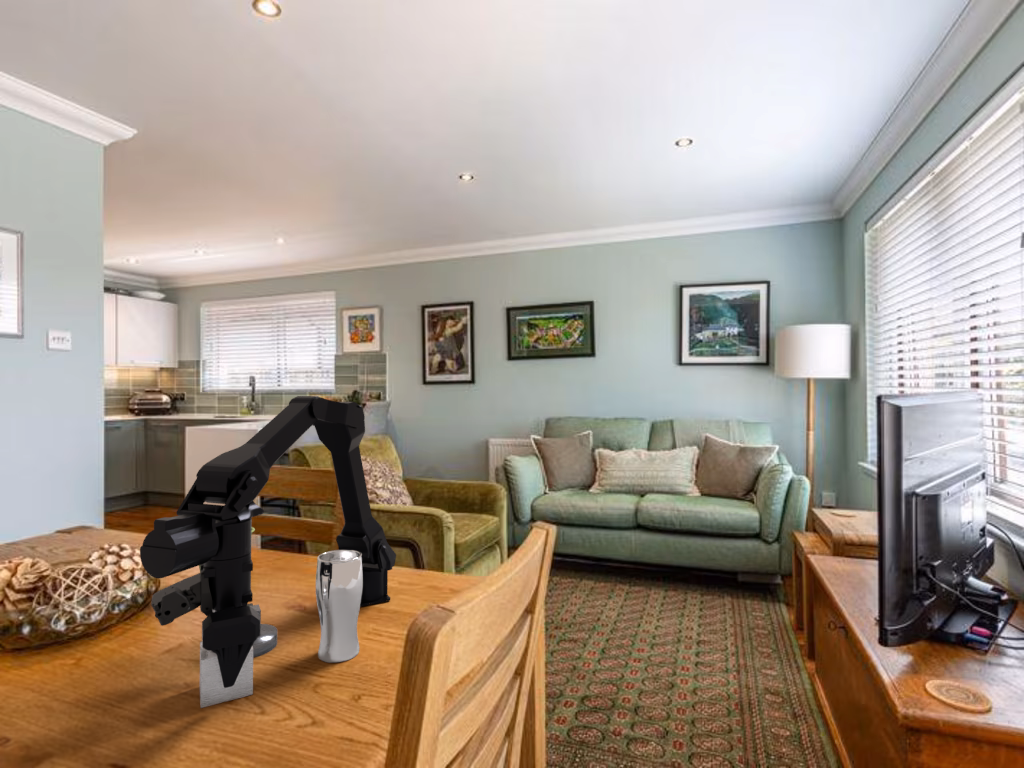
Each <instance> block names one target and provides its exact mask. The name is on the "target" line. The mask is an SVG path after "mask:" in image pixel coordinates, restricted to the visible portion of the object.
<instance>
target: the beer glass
mask: <svg viewBox="0 0 1024 768" xmlns="http://www.w3.org/2000/svg"><path fill="white" fill-rule="evenodd" d="M316 560H317V562H316V571H315V597H316V605H317V611H318V617H319V622H320V623H319V624H320V640H319V641H320V642H319V646H318V647H319V648H318V653H317V658H318V659H319V660H321V661H322V662H324V663H328V664H329V663H331V664H333V663H334V664H335V663H343V662H346V661H349V660H352V659H353V658H355V657H356V656H357V655H358V654H359V652H360V642H359V637H358V619H359V614H360V608H361V607H360V604H361V598H362V590H363V568H362V553H361V552H359V551H356V550H339V549H335V550H334V549H333V550H329V551H326V552H323V553H320V554H319V555H318V556H317V559H316Z"/></svg>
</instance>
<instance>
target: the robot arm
mask: <svg viewBox="0 0 1024 768" xmlns="http://www.w3.org/2000/svg"><path fill="white" fill-rule="evenodd" d="M312 426H313V427H314V428H315V431H316V434H317V438H318V440H319V441H320V442H321V443H322V444H323V446H325V448H326V449H327V450H328V451H329V452H330V454H331V455H330V456H331V459H332V465H333V470H334V474H335V480H336V484H337V489H338V494H339V499H340V505H341V510H342V514H343V521H344V525H343V526H342V529H341V532H340V533H339V534H338V535H337V536H336V539H335V541H336V544H337V548H338V549H337V550H356V551H359V552H361V553H362V568H363V590H362V598H361V604H360V608H361V607H365V606H369V605H374V604H375V605H376V604H380V603H383V602H389V601H391V596H390V595H389V594H388V589H389V588H388V585H389V584H388V581H389V579H388V577H389V575H388V574H389V571H391V570H393V567H395V563H396V561H397V560H396V558H397V554H396V552H395V551H394V550H393V548H392V546H391V545H390V544H389V543H388V542H387V537H386V534H385V531H384V528H383V526H382V525H381V524H380V523H379V522H378V521H377V520H376V519H375V517H374V516H373V515H372V514H373V513H372V510H371V504H370V499H369V493H368V488H367V483H366V477H365V473H364V472H365V471H364V466H363V461H362V460H363V459H362V455H361V449H360V444H361V443H362V439H363V437H364V435H365V433H366V422H365V412H364V409H363V407H362V406H361V405H360V404H359V403H357V402H355V401H335V400H329V399H326V398H323V397H321V396H319V395H297V396H295V397H292V398H291V399H290V401H289V402H288V405H287V406H286V407H284V408H283V409H282V410H281V411H280V412H279V413H278V414H277V415H275V417H273V418H272V419H271V420H270V421H268V423H267V424H265V425H264V426H263V427H262V428H261V429H260V430H259V431H258V432H257V433H255V434H254V435H253V436H252V437H251V438H249V440H247V441H246V442H245V443H244V444H242V445H241V446H239V447H236V448H233V449H231V450H228V451H225V452H222V453H220V454H219V455H217V456H216V457H214V458H212V459H211V460H209V461H208V462H206V463H205V464H203V465H202V466H201V468H200V469H198V471H197V473H196V479H195V480H194V482H193V483H192V485H191V487H190V489H189V490H188V492H187V494H186V496H185V497H184V499H183V500H182V502H181V503H180V505H179V507H178V509H177V511H176V515H175V516H172V517H161V518H156V519H154V521H153V530H151V531H149V532H148V533H147V534H146V535H145V537H144V539H143V542H142V545H141V546H140V547H139V557H140V562H141V565H142V567H143V569H144V570H145V571H146V573H147V574H148V575H149V576H150V577H152V578H154V579H164V578H166V577H169V576H172V575H175V574H178V573H181V572H184V571H187V570H190V569H192V568H196V567H199V565H200V569H199V572H198V573H197V574H194V575H191V576H189V577H186V578H183V579H182V580H180V581H177V582H175V583H173V584H170V585H169V586H167V587H164V588H162V589H160V590H158V591H156V592H155V593H153V594H152V596H151V603H150V605H151V607H152V609H153V611H154V617H155V618H156V619H158V622H159V625H160V626H162V627H163V626H166V625H169V624H171V623H173V622H174V621H175V620H176V619H178V618H180V617H182V616H184V615H187V614H188V613H190V612H193V611H194V610H196V609H197V608H199V607H200V608H199V610H200V613H202V614H203V615H205V616H206V617H205V618H204V619H203V620H202V622H201V642H202V645H203V648H204V649H206V650H208V651H212V652H214V653H216V654H217V658H218V662H219V667H220V672H221V676H222V681H223V685H224V688H227V687H231V686H233V685H234V684H235V681H236V679H237V677H238V675H239V673H240V670H241V668H242V666H243V664H244V662H245V660H246V657H247V655H248V653H249V651H250V649H251V647H252V645H253V643H254V641H255V640H257V637H258V636H260V619H259V616H258V613H257V611H256V610H254V609H253V608H252V607H250V606H247V604H249V603H251V602H253V595H254V594H253V591H252V572H253V570H254V563H253V560H252V535H251V528H252V527H253V526H252V522H253V521H252V518H253V517H257V516H260V515H263V514H264V512H265V510H264V509H263V508H262V507H261V506H259V505H257V504H256V503H255V500H256V498H257V497H258V495H259V494H260V492H261V491H262V490H263V488H264V487H265V486H266V484H267V483H268V481H269V480H270V479H269V478H270V473H271V472H270V471H271V468H272V467H273V465H274V464H275V463H276V462H277V461H278V460H279V459H280V458H281V457H282V456H283V455H284V454H285V453H286V452H287V451H288V450H289V449H290V448H291V447H292V446H293V445H294V444H295V443H296V442H297V441H298V440H299V439H300V438H301V437H302V436H303V435H304V434H305V433H306V432H307V431H309V429H310V428H311V427H312ZM206 503H207V504H206Z"/></svg>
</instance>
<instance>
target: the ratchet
mask: <svg viewBox="0 0 1024 768" xmlns="http://www.w3.org/2000/svg"><path fill="white" fill-rule="evenodd" d="M247 606H250V607H252V608H253V609H254V610H256V611H257V613H258V616H259V619H260V636H258V637H257V640H255V641H254V643H253V645H252V646H253V659H254V658H257V657H261V656H263V655H265V654H268V653H269V652H271V651H273V650H274V649H275V648H276V647H277V645H278V628H277V627H276V626H274V625H273V624H269V623H261V621H262V619H261V618H262V617H261V616H262V614H261V611H262V610H261V607H260V604H254V603H251V602H249V603H247Z"/></svg>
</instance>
